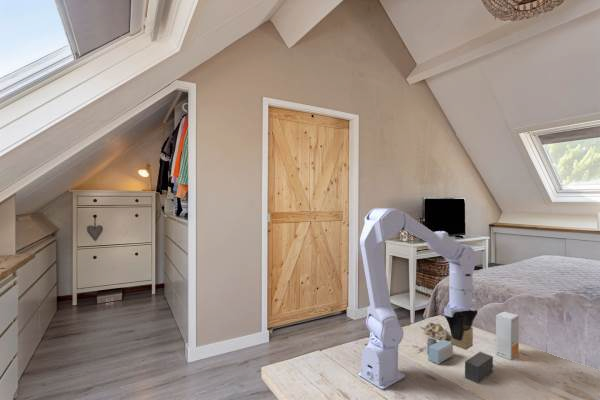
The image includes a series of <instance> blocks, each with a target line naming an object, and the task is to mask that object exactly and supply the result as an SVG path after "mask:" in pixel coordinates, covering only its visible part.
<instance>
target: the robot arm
mask: <svg viewBox="0 0 600 400" xmlns="http://www.w3.org/2000/svg"><path fill="white" fill-rule="evenodd" d="M400 231H403V232H404V231H405V232H407V233H409V234H411V235H412V236H414V237H417V238H418V239H421V240H422V241H424V242H426V246H427V248H428V249H429V250H430V251H432V252H434V253H436V254H437V255H438V256H441V257H442V258H444V259H445V260H446V262H447V263H449V265H448V267H449V270H448V271H449V275H448V276H449V278H448V279H449V281H448V282H449V285H448V286H449V291H448V292H449V294H448V295H449V299H448V300H449V301H448V302H447V305H446V306H445V307H444V308H443V316H444V318H445V320H446V322H447V323H448V327H449V330H450V336H451V335H452V338H453V339H456V340H459V341H460V340H461V338H462V333H463V327H464V325H466V326H469V327H472V326H473V322H474V320H475V317H477V315H478V307H477V300H476V299H473V274H474V272H475V267H476V264H477V263H478V260H479V256H478V255H477V253H476V251H475V249H473V248H472V247H470V246H467V245H463V244H462V241H460V240H458V239H454V238H453V237H451V236H450V235H449V233H448V232H446V231H444V230H441V231H440V230H438V231H433V230H431V229H429V228H428V226H426V225H424V224H423V223H421V222H419V221H417V219H415V218H413V217H412V216H410V215H409V214H408V213H407V212H404V211H401V209H398V208H395V207H391V208H383V207H374V208H372V209H371V210H370V211H369V212H368V213H367V215H366V216H364V225H363V228H362V231H361V233H360V237H359V244H360V251H361V257H362V263H363V270H364V275H365V280H366V281H365V282H366V286H367V292H368V300H369V306H368V307H367V308H366V311H367V312H366V313H367V317H366V319H365V324H366V328H367V330H368V331H369V341H368V344H367V345H365V347H363V348H362V350H361V355H360V359H361V360H360V372H358V376H360V377H361V378H363V379H364V380H366V381H368V382H369V383H371V384H373V385H374V386H376V387H378V388H379V389H381V390H385V389H387V388H388V387H390V386H392V385H393V384H395V383H398V382H399V381H400V380H401V381H402V379H404V378H405V377H406V375H405V374H404V373H402V372H400V371H399V345H400V343H401V342H402V341H403V338H404V328H403V327H402V326H401V324H400V322H399V319H398V315H397V314H396V311H395V310H394V308H393V306H392V303H391V296H390V289H389V284H388V279H387V272H386V267H385V258H384V254H383V253H384V252H383V245H384V244H385V243H386V242H387V240H388V239H390V238H392V237H393V236H394V235H396V234H398V233H399V232H400Z"/></svg>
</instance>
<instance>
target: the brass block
mask: <svg viewBox="0 0 600 400" xmlns="http://www.w3.org/2000/svg"><path fill="white" fill-rule="evenodd" d="M473 331H474V328H473V327H472V326H471V327H469V326H466V325H464V327H463V333H462V338H461V340H460V341H459V340H456V339H453V338H452V335H451V334H450V336H451V339H450V342H451V344H452V345H453V347H454V346H455V347H458V348H460V349H463V350H466V351H467V350H468V349H470V348H471V347H473V345H474V343H473V340H474V338H473V337H474V336H473V335H474V333H473Z"/></svg>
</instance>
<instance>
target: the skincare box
mask: <svg viewBox="0 0 600 400" xmlns="http://www.w3.org/2000/svg"><path fill="white" fill-rule="evenodd" d="M519 318H520V316H519V314H517V313H511V312H508V311H503V312H499V313H498V314H496V315H495V355H497V356H498V357H502V358H504V359H507V360H512V359H514V358H516V357H517V356H518V355H519V348H520V347H519V345H520V344H519V340H520V338H519V337H520V336H519V334H520V330H519V327H520V326H519V325H520V321H519Z"/></svg>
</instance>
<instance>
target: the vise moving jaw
mask: <svg viewBox="0 0 600 400" xmlns="http://www.w3.org/2000/svg"><path fill="white" fill-rule="evenodd" d="M453 347H454V345H452V344H451V341H446V340H439V341H437V339H436V338H433V337H432V338H427V355H428V360H429V361H430V362H433V363H435V364H437V365H439V364H442V363H443V362H444V361H446V360H449V358H451V357H453V356H454V354H453V353H454V348H453Z"/></svg>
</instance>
